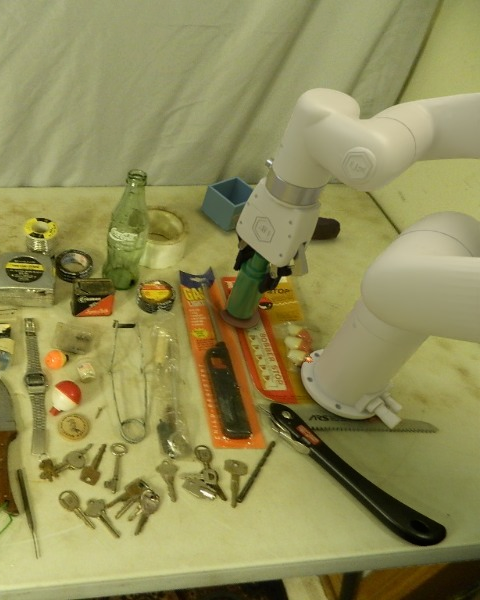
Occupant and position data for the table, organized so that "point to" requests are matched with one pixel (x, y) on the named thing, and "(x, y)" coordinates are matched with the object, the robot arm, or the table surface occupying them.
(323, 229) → the hand tool
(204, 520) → the table surface
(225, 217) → the blue open box
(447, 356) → the table surface
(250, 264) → the bottle
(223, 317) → the coaster
